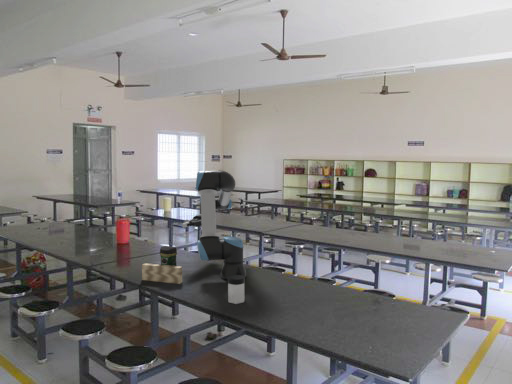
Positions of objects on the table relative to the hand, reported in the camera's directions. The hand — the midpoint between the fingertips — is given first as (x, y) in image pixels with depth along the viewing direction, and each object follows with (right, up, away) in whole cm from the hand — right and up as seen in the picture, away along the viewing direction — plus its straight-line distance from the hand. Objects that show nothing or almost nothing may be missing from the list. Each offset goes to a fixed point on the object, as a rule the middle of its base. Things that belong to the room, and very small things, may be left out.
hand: (183, 225), depth 253 cm
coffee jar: (-6, -30, -14) cm, 33 cm away
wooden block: (-9, -30, -20) cm, 37 cm away
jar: (+35, -33, -51) cm, 70 cm away
